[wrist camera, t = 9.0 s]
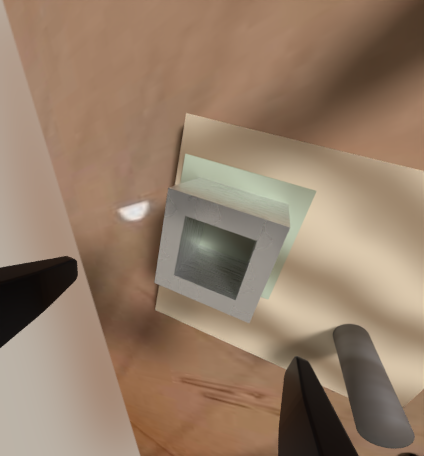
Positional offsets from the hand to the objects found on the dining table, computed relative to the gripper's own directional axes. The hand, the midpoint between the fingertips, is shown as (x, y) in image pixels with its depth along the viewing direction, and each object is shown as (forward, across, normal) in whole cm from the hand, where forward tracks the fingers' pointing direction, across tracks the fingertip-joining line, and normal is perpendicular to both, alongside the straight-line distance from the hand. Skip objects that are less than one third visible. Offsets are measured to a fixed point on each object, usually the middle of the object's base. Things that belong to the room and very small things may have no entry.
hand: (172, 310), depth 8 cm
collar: (+9, 0, 0) cm, 9 cm away
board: (+10, -6, +2) cm, 12 cm away
